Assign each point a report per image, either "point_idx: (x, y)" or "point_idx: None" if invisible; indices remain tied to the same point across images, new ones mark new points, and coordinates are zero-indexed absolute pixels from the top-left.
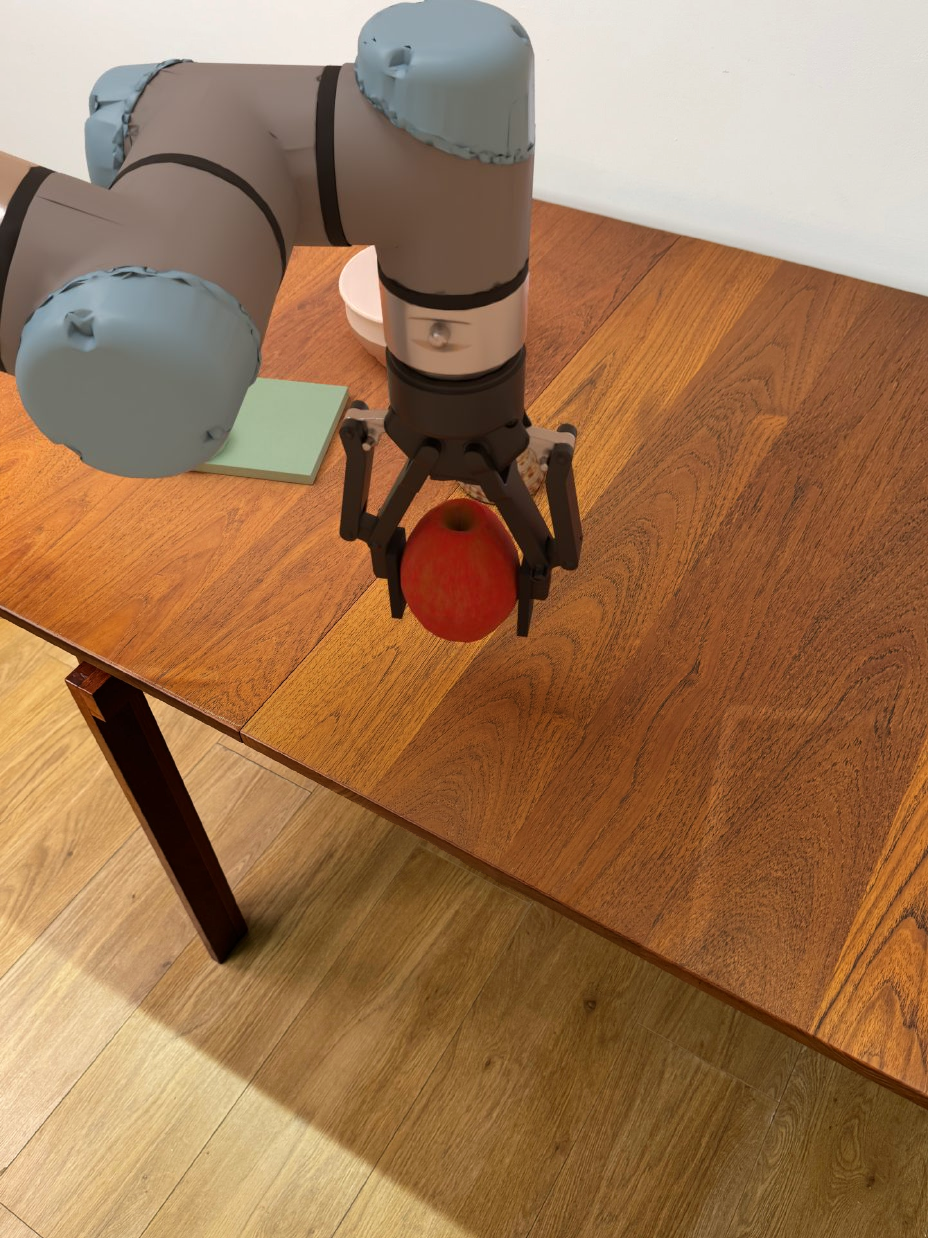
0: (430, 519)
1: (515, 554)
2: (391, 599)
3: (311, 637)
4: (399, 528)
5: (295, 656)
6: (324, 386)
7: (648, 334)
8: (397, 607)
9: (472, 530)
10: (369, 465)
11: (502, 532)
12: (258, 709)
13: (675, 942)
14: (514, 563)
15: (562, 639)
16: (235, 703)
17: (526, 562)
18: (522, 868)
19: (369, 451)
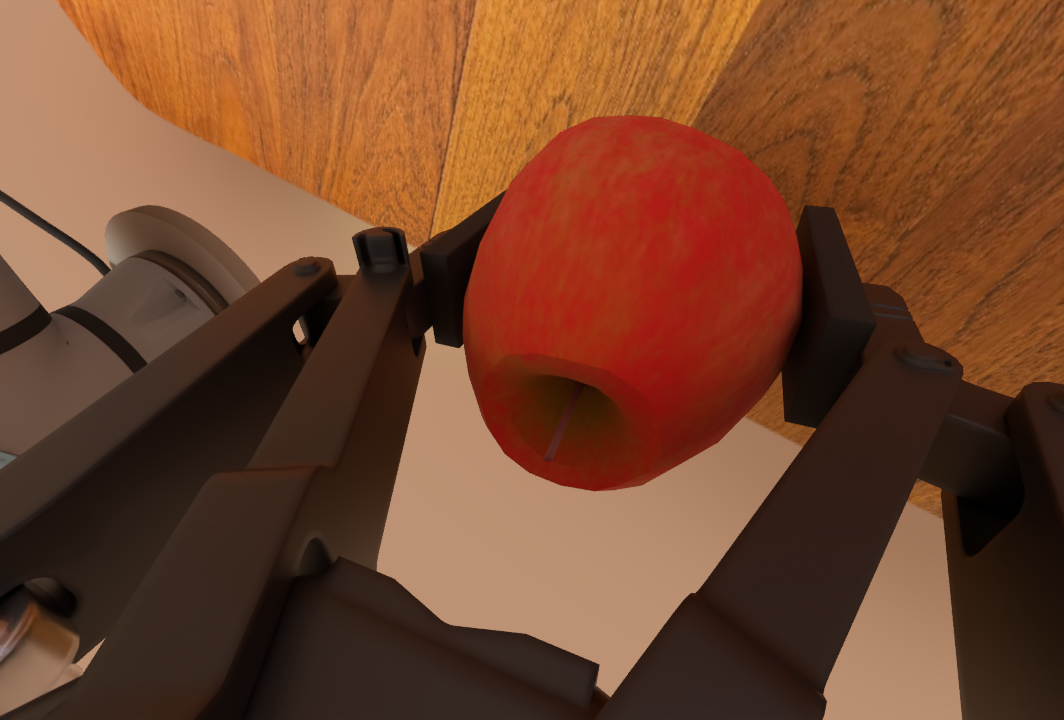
0: (482, 409)
1: (783, 339)
2: None
3: (441, 98)
4: (434, 262)
5: (436, 139)
6: None
7: None
8: None
9: (617, 464)
10: (174, 475)
11: (732, 394)
12: (431, 228)
13: (933, 500)
14: (775, 375)
15: (915, 12)
16: (405, 221)
17: (816, 390)
18: (757, 416)
19: (99, 582)
